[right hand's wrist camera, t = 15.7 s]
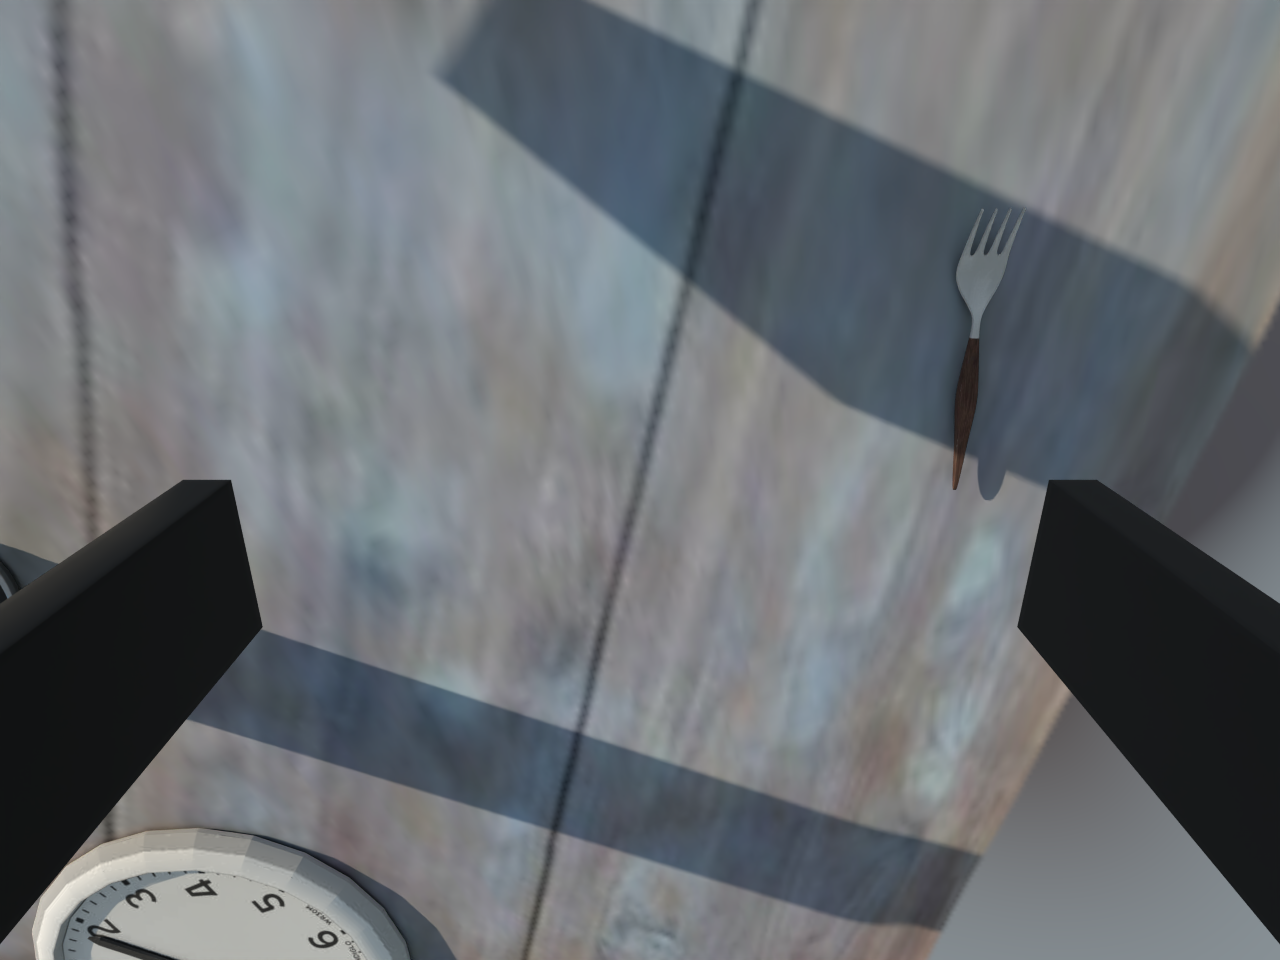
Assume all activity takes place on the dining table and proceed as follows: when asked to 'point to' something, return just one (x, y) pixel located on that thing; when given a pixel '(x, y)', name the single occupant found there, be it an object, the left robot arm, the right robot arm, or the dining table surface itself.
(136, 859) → the wall clock
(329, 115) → the dining table surface
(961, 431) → the fork
